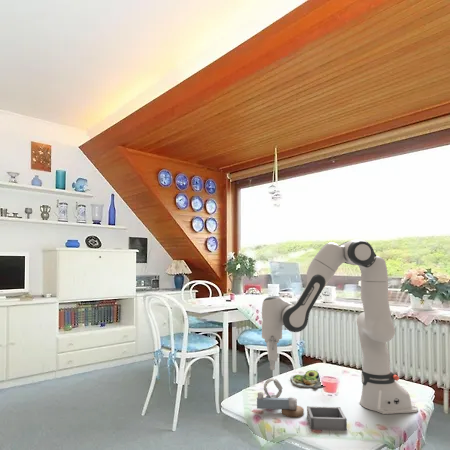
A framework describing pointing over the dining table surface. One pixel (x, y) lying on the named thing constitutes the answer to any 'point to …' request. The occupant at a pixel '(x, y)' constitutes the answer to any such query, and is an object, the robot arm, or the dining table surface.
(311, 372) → the avocado toast plate
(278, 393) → the watch
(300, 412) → the base
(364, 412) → the dining table surface
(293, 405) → the crank arm
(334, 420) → the tray
